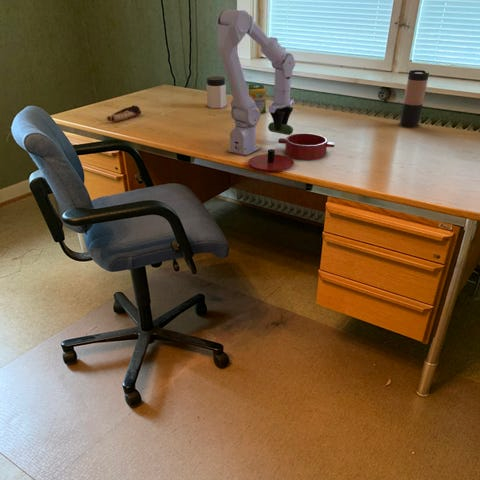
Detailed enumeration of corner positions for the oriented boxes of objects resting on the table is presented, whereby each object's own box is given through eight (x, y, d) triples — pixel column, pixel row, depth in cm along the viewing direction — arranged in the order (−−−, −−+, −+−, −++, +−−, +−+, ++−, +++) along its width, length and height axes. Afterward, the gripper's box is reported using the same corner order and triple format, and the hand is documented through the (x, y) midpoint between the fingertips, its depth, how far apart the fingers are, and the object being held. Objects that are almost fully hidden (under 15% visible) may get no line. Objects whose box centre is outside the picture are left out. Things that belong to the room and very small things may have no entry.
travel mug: (397, 126, 202) (406, 72, 189) (401, 121, 207) (411, 69, 195) (416, 128, 199) (427, 74, 187) (420, 123, 204) (431, 71, 192)
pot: (330, 162, 168) (332, 147, 165) (274, 157, 172) (274, 143, 169) (335, 149, 179) (337, 135, 176) (282, 144, 183) (282, 131, 180)
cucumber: (294, 134, 184) (295, 125, 182) (289, 136, 182) (290, 127, 180) (271, 129, 189) (271, 120, 187) (266, 132, 187) (266, 122, 185)
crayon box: (250, 114, 218) (250, 85, 211) (248, 112, 220) (248, 84, 213) (265, 112, 219) (266, 84, 212) (263, 111, 222) (264, 83, 215)
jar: (204, 105, 231) (203, 77, 224) (220, 103, 234) (219, 75, 227) (213, 109, 225) (211, 80, 217) (228, 107, 228) (228, 79, 220)
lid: (288, 174, 159) (289, 159, 156) (243, 170, 162) (243, 155, 159) (297, 159, 171) (298, 145, 168) (254, 155, 174) (254, 141, 171)
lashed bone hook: (131, 113, 221) (99, 121, 210) (130, 102, 219) (97, 109, 207) (145, 116, 216) (113, 124, 205) (144, 104, 214) (111, 112, 202)
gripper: (281, 95, 170) (279, 135, 178) (301, 87, 179) (299, 126, 187) (264, 92, 173) (263, 132, 181) (285, 85, 182) (283, 123, 190)
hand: (280, 128), depth 184 cm, fingers closed on cucumber, 3 cm apart
